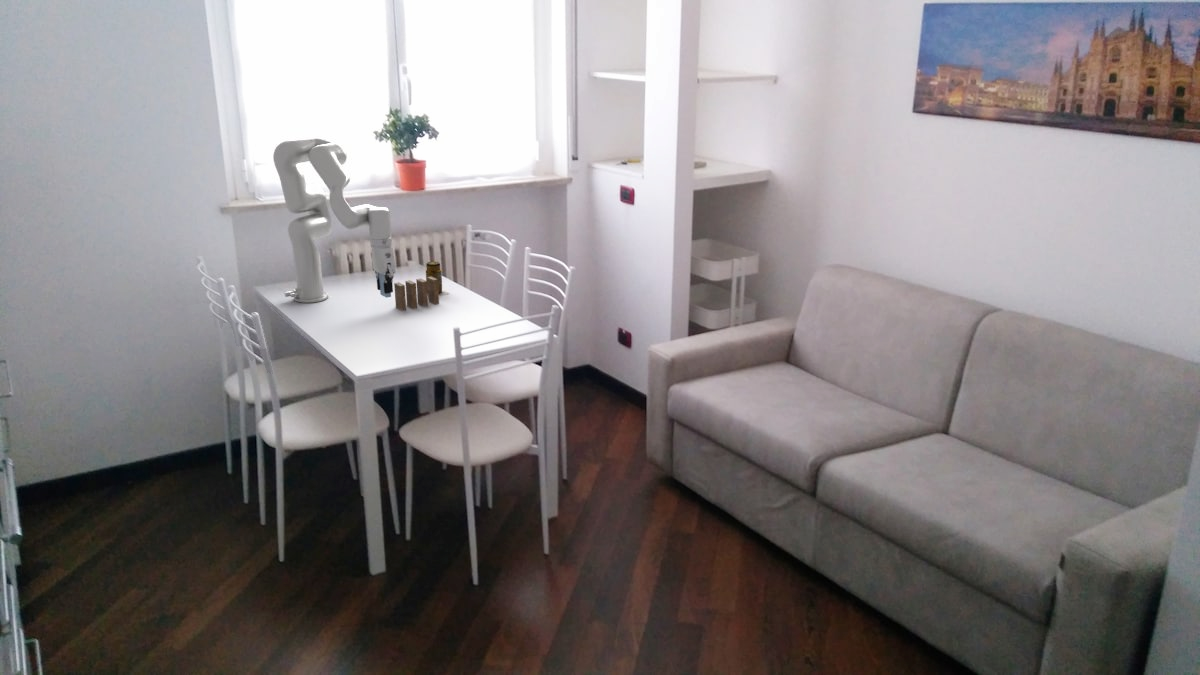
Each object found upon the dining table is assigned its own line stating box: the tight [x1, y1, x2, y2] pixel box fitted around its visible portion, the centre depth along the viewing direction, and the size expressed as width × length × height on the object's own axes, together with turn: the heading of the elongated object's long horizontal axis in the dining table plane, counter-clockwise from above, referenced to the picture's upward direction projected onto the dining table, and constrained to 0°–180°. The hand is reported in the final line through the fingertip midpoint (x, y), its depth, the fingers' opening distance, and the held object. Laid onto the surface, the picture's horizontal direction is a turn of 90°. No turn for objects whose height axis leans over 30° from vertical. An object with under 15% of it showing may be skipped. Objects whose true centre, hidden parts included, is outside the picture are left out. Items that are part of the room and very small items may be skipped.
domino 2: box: [393, 281, 407, 312], centre depth 339 cm, size 2×5×10 cm, turn 38°
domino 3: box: [405, 279, 418, 309], centre depth 341 cm, size 2×5×10 cm, turn 37°
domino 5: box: [427, 276, 440, 305], centre depth 347 cm, size 2×5×10 cm, turn 37°
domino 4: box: [415, 278, 429, 307], centre depth 344 cm, size 2×5×10 cm, turn 37°
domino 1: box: [379, 272, 392, 298], centre depth 333 cm, size 2×5×10 cm, turn 37°
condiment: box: [425, 261, 449, 296], centre depth 358 cm, size 7×8×12 cm
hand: (385, 290), depth 334 cm, fingers closed on domino 1, 4 cm apart
